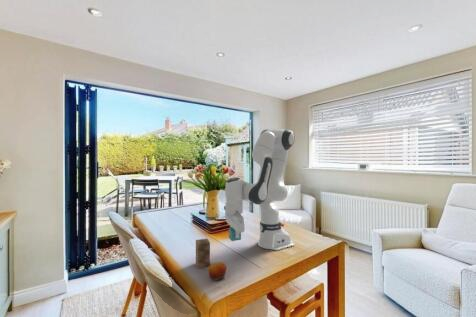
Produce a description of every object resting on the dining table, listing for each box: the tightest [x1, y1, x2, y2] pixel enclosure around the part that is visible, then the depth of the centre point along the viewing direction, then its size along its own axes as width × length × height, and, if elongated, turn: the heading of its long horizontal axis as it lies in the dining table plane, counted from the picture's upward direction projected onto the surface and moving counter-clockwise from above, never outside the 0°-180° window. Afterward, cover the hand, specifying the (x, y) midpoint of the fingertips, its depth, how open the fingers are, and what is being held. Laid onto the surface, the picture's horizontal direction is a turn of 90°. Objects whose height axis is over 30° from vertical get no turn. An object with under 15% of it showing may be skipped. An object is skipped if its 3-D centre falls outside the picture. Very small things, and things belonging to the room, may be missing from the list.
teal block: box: [228, 227, 242, 242], centre depth 119 cm, size 5×5×5 cm
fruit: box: [208, 261, 227, 282], centre depth 103 cm, size 8×8×8 cm
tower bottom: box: [195, 252, 211, 270], centre depth 115 cm, size 6×6×6 cm
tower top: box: [195, 238, 211, 256], centre depth 115 cm, size 6×6×6 cm
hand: (234, 235), depth 119 cm, fingers closed on teal block, 5 cm apart
